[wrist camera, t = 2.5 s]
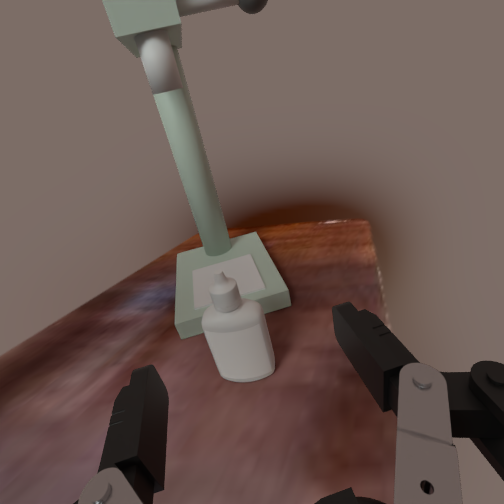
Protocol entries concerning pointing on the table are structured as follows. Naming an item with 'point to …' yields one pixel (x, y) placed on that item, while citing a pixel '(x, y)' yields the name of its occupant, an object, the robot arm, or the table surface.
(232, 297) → the eye dropper bottle
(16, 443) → the table surface
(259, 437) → the table surface
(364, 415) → the table surface
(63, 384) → the table surface
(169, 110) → the arbor press
